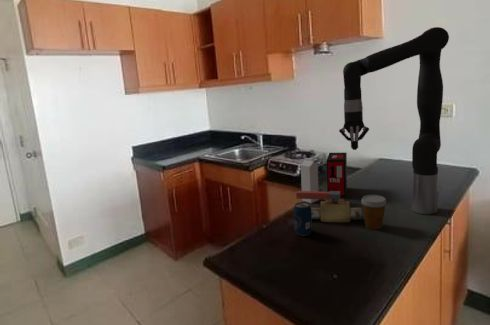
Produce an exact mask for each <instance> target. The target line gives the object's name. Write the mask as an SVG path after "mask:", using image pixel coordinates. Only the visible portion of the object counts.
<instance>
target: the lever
mask: <svg viewBox="0 0 490 325" xmlns="http://www.w3.org/2000/svg"><path fill="white" fill-rule="evenodd" d="M295 193H296V195H295V196H296V199H297V200H302V199H319V200H321V201H325V200H329V199H337V200H340V199H341V198H340V191H330V192H327V191H322V190H321V191H320V190H319V191H302V190H297V191H296V192H295Z"/></svg>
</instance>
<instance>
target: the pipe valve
mask: <svg viewBox="0 0 490 325" xmlns="http://www.w3.org/2000/svg"><path fill="white" fill-rule="evenodd" d="M319 201H320V200H319ZM311 214H312V220H320V222H322V223H323V222H324V223H350V222H351V221H352V220H356V221H357V220H363V207H351V206H350V201H349V200H348V201H347V200H345V198H340V200H337V199H329V200H321V201H320V207H311Z"/></svg>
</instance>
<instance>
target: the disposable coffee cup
mask: <svg viewBox="0 0 490 325" xmlns="http://www.w3.org/2000/svg"><path fill="white" fill-rule="evenodd" d="M360 202H361V204H362V213H363V218H364V226H365V228H367V229H369V230H381V229H382V228H383V221H384V216H385V210H386V205H387V200H386V198H385V197H384V196H382V195H378V194H367V195H364V196H363V197H362V198H361V200H360Z"/></svg>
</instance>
